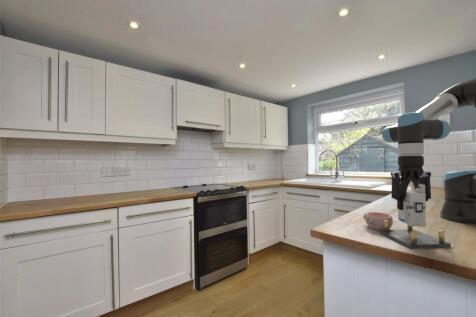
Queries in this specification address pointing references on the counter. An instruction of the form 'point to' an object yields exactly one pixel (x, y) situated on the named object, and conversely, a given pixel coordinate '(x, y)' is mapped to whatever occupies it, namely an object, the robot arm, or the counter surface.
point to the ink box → (415, 206)
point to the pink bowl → (377, 220)
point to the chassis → (414, 237)
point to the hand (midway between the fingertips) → (411, 218)
